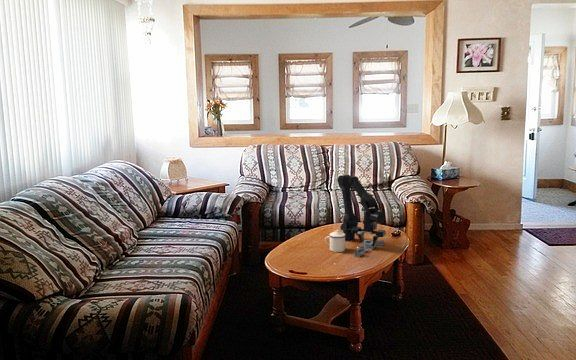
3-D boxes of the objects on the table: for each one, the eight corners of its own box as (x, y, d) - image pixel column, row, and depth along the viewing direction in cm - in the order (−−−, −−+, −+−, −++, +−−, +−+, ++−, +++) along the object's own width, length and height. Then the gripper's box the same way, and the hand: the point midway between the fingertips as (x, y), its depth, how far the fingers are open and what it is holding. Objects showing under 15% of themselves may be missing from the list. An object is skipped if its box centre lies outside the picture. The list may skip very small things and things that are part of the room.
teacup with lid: (347, 248, 278) (347, 228, 276) (342, 253, 270) (342, 233, 268) (328, 245, 284) (328, 226, 282) (322, 250, 276) (322, 230, 274)
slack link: (364, 252, 271) (364, 248, 270) (359, 252, 272) (359, 248, 271) (366, 250, 274) (366, 246, 274) (362, 250, 275) (362, 246, 275)
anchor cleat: (359, 257, 264) (359, 248, 263) (354, 256, 265) (354, 247, 264) (363, 254, 268) (363, 246, 267) (358, 253, 269) (358, 245, 269)
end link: (371, 250, 275) (371, 244, 274) (361, 248, 278) (361, 242, 277) (375, 247, 280) (375, 241, 280) (365, 245, 283) (365, 239, 283)
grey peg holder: (369, 245, 284) (369, 236, 283) (370, 241, 292) (370, 232, 291) (383, 245, 282) (383, 237, 281) (383, 241, 290) (383, 233, 289)
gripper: (389, 218, 278) (388, 244, 281) (358, 214, 288) (358, 240, 290) (382, 223, 269) (382, 250, 272) (351, 219, 278) (351, 245, 281)
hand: (368, 246), depth 279 cm, fingers closed on end link, 6 cm apart
